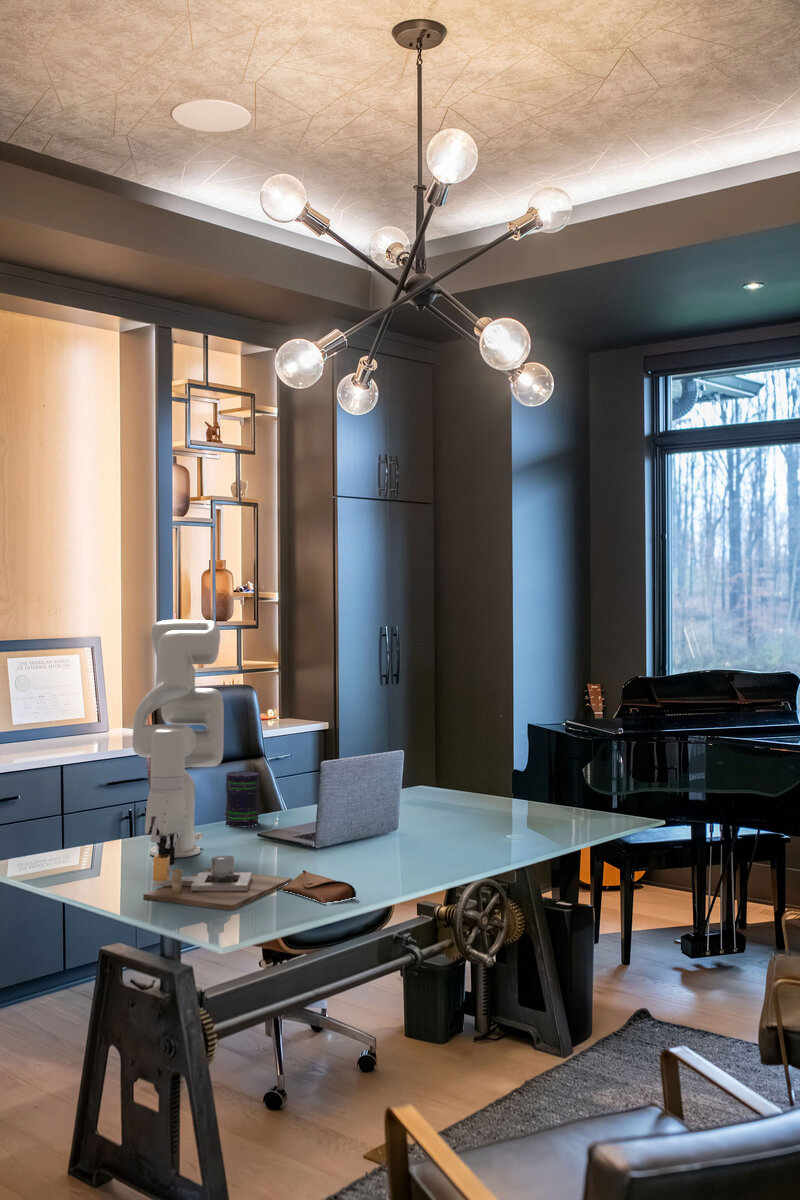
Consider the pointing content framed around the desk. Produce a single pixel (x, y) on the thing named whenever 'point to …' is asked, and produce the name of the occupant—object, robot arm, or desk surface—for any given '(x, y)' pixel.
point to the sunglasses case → (320, 888)
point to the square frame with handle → (196, 878)
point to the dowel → (176, 881)
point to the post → (222, 869)
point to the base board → (220, 893)
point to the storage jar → (242, 798)
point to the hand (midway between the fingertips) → (166, 864)
